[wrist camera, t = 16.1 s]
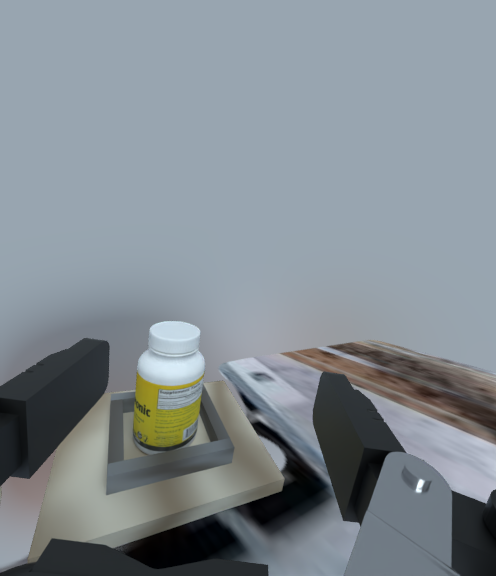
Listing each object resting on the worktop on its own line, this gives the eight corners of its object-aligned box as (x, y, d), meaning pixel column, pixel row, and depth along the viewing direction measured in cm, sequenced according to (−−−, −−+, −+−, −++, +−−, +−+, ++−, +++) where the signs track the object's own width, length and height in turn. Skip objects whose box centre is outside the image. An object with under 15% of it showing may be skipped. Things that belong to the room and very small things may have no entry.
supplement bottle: (131, 417, 25) (139, 317, 23) (190, 410, 27) (201, 318, 25) (131, 466, 20) (141, 344, 18) (202, 452, 22) (218, 342, 20)
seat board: (222, 389, 33) (225, 369, 33) (281, 491, 21) (288, 462, 21) (70, 407, 26) (70, 383, 26) (27, 577, 14) (27, 537, 14)
